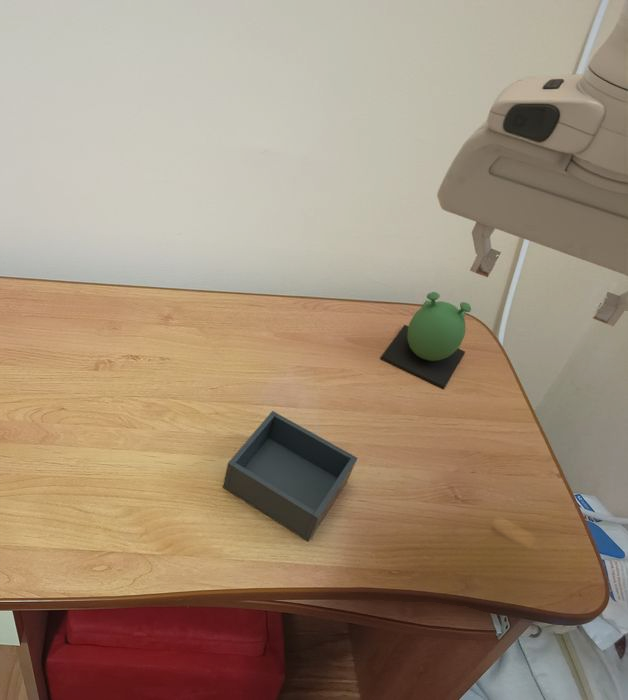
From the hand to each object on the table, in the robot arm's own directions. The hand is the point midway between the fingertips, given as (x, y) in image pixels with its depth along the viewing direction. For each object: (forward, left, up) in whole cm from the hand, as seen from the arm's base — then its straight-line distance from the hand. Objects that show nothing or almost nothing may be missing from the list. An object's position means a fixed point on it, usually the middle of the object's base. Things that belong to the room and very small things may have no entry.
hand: (539, 294), depth 50 cm
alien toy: (+8, -24, -29) cm, 38 cm away
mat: (+8, -24, -29) cm, 39 cm away
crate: (+13, +8, -29) cm, 33 cm away
